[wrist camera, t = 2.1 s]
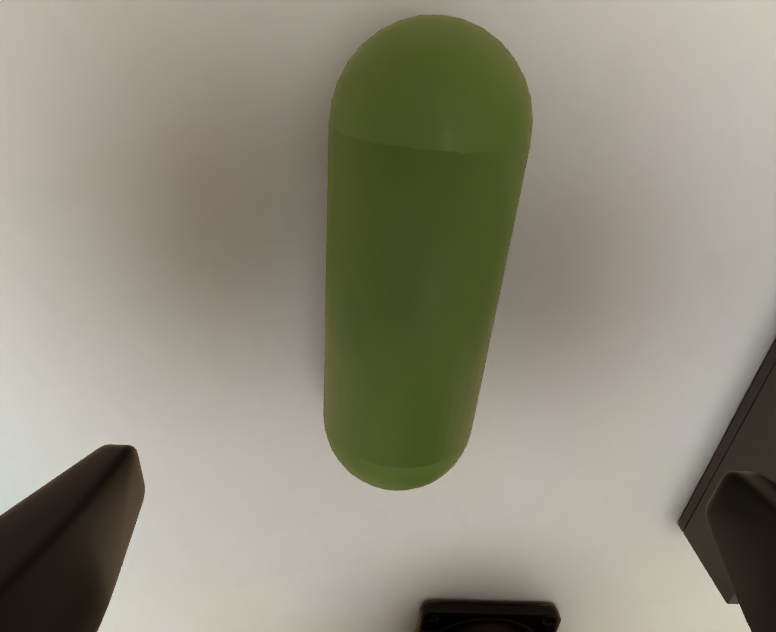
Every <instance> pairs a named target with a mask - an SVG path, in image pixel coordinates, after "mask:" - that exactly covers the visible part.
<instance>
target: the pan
mask: <svg viewBox="0 0 776 632" xmlns="http://www.w3.org/2000/svg"><path fill="white" fill-rule="evenodd" d="M729 471H750V472H756V473H759V474H761V475H763V476H764V477H766V478H767V479H769V480H771V481H772V482H774V483H776V341H775V343H774V344H773V346H772V348H771V350H770V352H769V354H768V356H767V358H766V359H765V361H764V363H763V365H762V367H761V369H760V371H759V373H758V375H757V376H756V378H755V380H754V382H753V384H752V386H751V388H750V390H749V391H748V393H747V395H746V397H745V399H744V401H743V403H742V405H741V406H740V408H739V410H738V412H737V414H736V416H735V418H734V420H733V422H732V423H731V425H730V427H729V429H728V431H727V433H726V435H725V437H724V438H723V440H722V442H721V444H720V446H719V448H718V450H717V452H716V453H715V455H714V457H713V459H712V461H711V463H710V465H709V467H708V468H707V470H706V472H705V474H704V476H703V478H702V480H701V482H700V484H699V485H698V487H697V489H696V491H695V493H694V495H693V497H692V499H691V500H690V502H689V504H688V506H687V508H686V510H685V512H684V514H683V515H682V517H681V519H680V521H679V523H678V525H679V527H680V528H681V530H682V531H683V532H684V535H685V536H686V538H687V539H688V541H689V543H690V544H691V546H692V548H693V549H694V551H695V552H696V554H697V556H698V557H699V559H700V561H701V562H702V564H703V566H704V567H705V569H706V570H707V572H708V574H709V575H710V577H711V579H712V580H713V582H714V583H715V585H716V587H717V588H718V590H719V592H720V593H721V595H722V597H723V598H724V600H725V601H726V603H728V604H739V602H738V599H737V597H736V594H735V592H734V589H733V587H732V584H731V582H730V579H729V577H728V574H727V572H726V569H725V566H724V564H723V561H722V559H721V556H720V554H719V551H718V549H717V546H716V544H715V541H714V539H713V536H712V534H711V531H710V529H709V526H708V524H707V520H706V506H707V504H708V502H709V500H710V498H711V496H712V495H713V493H714V491H715V489H716V487H717V485H718V484H719V482H720V480H721V478H722V477H723V475H724V474H725V473H727V472H729Z"/></svg>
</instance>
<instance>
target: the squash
mask: <svg viewBox="0 0 776 632" xmlns="http://www.w3.org/2000/svg"><path fill="white" fill-rule="evenodd" d="M532 122H533V119H532V107H531V98H530V94H529V91H528V87H527V84H526V80H525V77H524V75H523V73H522V72H521V70H520V68H519V66H518V64H517V62H516V60H515V58H514V57H513V56H512V55H511V54H510V52H509V51H508V50H507V49H506V48H505V46H504V45H503V44H502V43H501V42H500V41H499V40H498V39H497V38H495V37H494V36H493V35H491V34H490V33H489V32H487V31H486V30H485V29H483V28H482V27H479V26H477V25H475V24H473V23H471V22H468V21H466V20H464V19H461V18H456V17H450V16H445V15H420V16H416V17H412V18H408V19H404V20H400V21H398V22H396V23H394V24H392V25H390V26H388V27H386V28H384V29H382V30H380V31H379V32H377V33H376V34H375V35H374V36H372V37H371V38H370V39H369V40H367V41H366V42H365V43H364V44H362V46H361V47H360V48H359V49H358V50H357V52H356V53H355V54H354V55H353V57H352V58H351V59H350V60H349V61H348V63H347V65H346V67H345V69H344V70H343V72H342V74H341V76H340V78H339V80H338V82H337V85H336V89H335V92H334V95H333V98H332V101H331V110H330V118H329V140H328V196H327V251H326V307H325V362H324V424H325V431H326V434H327V438H328V441H329V443H330V446H331V448H332V450H333V452H334V454H335V455H336V457H337V458H338V460H339V461H340V462H341V463H342V465H343V466H344V467H345V468H346V469H347V470H348V471H349V472H350V473H351V474H352V475H354V476H355V477H357V478H358V479H360V480H362V481H364V482H366V483H368V484H370V485H372V486H374V487H378V488H382V489H386V490H395V491H397V490H409V489H414V488H419V487H422V486H425V485H427V484H430V483H432V482H434V481H435V480H437V479H438V478H440V477H441V476H443V475H444V474H445V473H447V472H448V471H449V470H450V469H451V468H452V467H453V466H454V465H455V463H456V462H457V461H458V459H459V458H460V456H461V455H462V453H463V451H464V449H465V447H466V445H467V442H468V440H469V437H470V433H471V429H472V425H473V420H474V415H475V410H476V405H477V400H478V396H479V391H480V386H481V381H482V376H483V371H484V366H485V362H486V357H487V352H488V347H489V342H490V337H491V332H492V328H493V323H494V318H495V313H496V308H497V303H498V298H499V294H500V289H501V284H502V279H503V274H504V269H505V264H506V260H507V255H508V250H509V245H510V240H511V235H512V231H513V226H514V221H515V216H516V211H517V206H518V201H519V197H520V192H521V187H522V182H523V177H524V172H525V167H526V163H527V158H528V153H529V148H530V140H531V131H532Z"/></svg>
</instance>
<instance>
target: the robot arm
mask: <svg viewBox="0 0 776 632" xmlns="http://www.w3.org/2000/svg"><path fill="white" fill-rule="evenodd" d="M144 493H145V484H144V479H143V475H142V470H141V466H140V461H139V457H138V453H137V450H136V449H135V448H134V447H133V446H130V445H111V444H109V445H104V446H102V447H100V448H98V449H97V450H95V451H94V452H92V453H91V454H89V455H88V456H87V457H85V458H84V459H82V460H81V461H79V462H78V463H76V464H75V465H73V466H72V467H70V468H69V469H68V470H66V471H65V472H63V473H62V474H60V475H59V476H57V477H56V478H54V479H53V480H52V481H50V482H49V483H47V484H46V485H44V486H43V487H41V488H40V489H38V490H37V491H35V492H34V493H33V494H31V495H30V496H28V497H27V498H25V499H24V500H22V501H21V502H19V503H18V504H17V505H15V506H14V507H12V508H11V509H9V510H8V511H6V512H5V513H3V514H2V515H0V632H97V631H98V628H99V626H100V624H101V622H102V619H103V617H104V614H105V612H106V610H107V607H108V605H109V602H110V599H111V596H112V593H113V591H114V588H115V585H116V582H117V579H118V576H119V573H120V570H121V567H122V564H123V560H124V557H125V554H126V551H127V548H128V545H129V542H130V539H131V536H132V533H133V530H134V527H135V524H136V521H137V518H138V515H139V512H140V509H141V506H142V503H143V499H144ZM706 520H707V524H708V526H709V529H710V531H711V534H712V536H713V539H714V541H715V544H716V546H717V549H718V551H719V554H720V556H721V559H722V561H723V564H724V566H725V569H726V572H727V574H728V577H729V579H730V582H731V584H732V587H733V589H734V592H735V594H736V597H737V599H738V602H739V604H740V607H741V609H742V611H743V614H744V616H745V618H746V621H747V623H748V625H749V627H750V629H751V631H752V632H776V483H774V482H772V481H771V480H769V479H767V478H766V477H764V476H763V475H761V474H759V473H756V472H750V471H729V472H727V473H725V474H724V475H723V477H722V478H721V480H720V482H719V484H718V485H717V487H716V489H715V491H714V493H713V495H712V496H711V498H710V500H709V502H708V504H707V506H706ZM560 621H561V618H560V615H559V612H558V610H557V608H555V607H552V606H528V605H490V604H452V603H428V604H425V605H423V606H422V607H421V609H420V613H419V619H418V624H417V630H416V632H556V631H557V628H558V626H559V624H560Z"/></svg>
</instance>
